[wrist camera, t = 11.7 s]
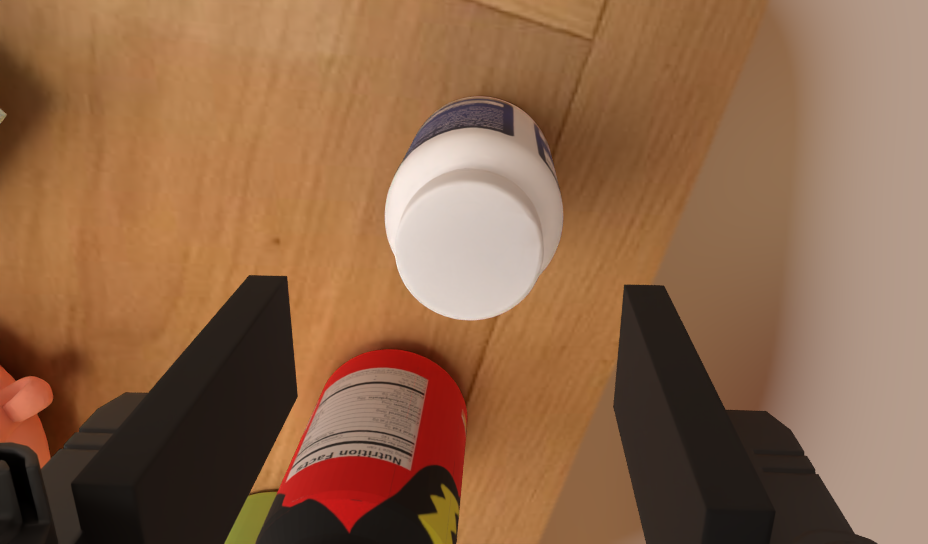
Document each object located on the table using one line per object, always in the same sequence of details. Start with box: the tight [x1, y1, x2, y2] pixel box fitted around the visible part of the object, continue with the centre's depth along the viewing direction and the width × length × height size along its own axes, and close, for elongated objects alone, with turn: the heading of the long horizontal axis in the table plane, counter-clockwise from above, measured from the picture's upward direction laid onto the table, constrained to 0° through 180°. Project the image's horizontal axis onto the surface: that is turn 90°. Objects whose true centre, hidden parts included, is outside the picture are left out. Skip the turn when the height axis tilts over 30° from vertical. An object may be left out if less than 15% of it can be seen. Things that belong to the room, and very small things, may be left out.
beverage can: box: [255, 349, 467, 544], centre depth 27 cm, size 6×6×12 cm
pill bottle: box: [385, 96, 563, 320], centre depth 24 cm, size 5×5×10 cm
